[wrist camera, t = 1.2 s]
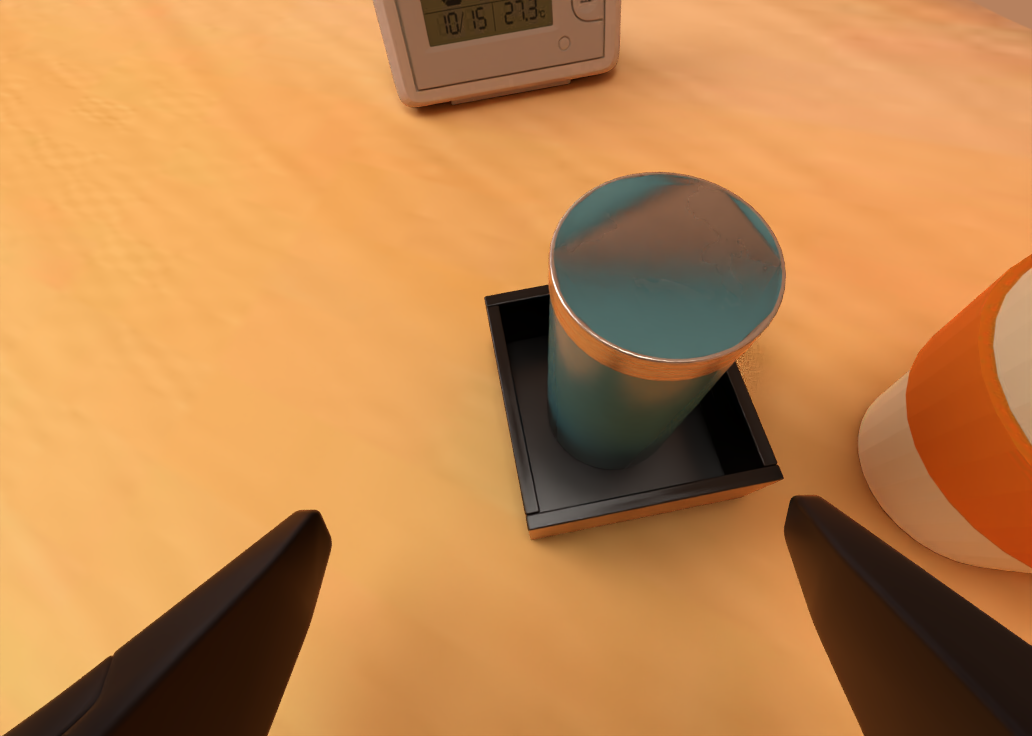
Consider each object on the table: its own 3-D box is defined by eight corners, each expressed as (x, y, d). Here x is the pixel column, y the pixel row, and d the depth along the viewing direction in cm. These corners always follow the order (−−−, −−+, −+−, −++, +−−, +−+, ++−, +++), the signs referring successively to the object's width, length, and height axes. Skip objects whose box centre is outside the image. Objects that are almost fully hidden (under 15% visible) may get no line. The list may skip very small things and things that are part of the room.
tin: (689, 456, 23) (828, 337, 12) (561, 482, 23) (579, 385, 12) (650, 343, 26) (735, 154, 14) (534, 365, 26) (528, 191, 14)
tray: (741, 497, 23) (785, 478, 19) (530, 540, 23) (528, 530, 19) (670, 305, 27) (692, 256, 23) (492, 339, 27) (483, 296, 23)
